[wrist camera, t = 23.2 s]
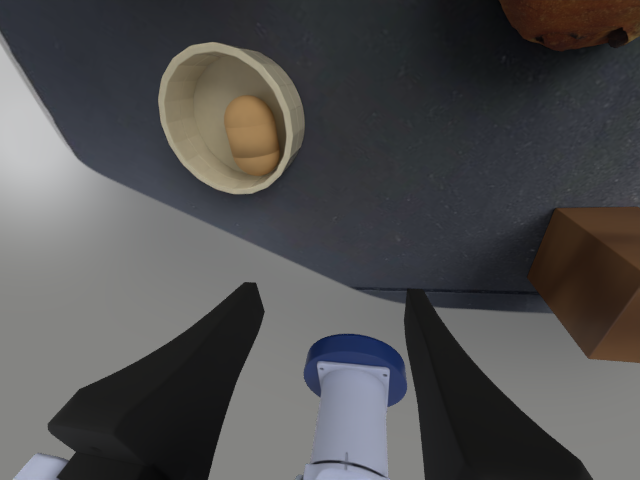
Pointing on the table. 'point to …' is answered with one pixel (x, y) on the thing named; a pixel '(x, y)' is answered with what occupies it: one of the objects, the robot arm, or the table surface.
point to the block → (593, 278)
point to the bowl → (209, 108)
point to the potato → (252, 135)
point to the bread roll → (574, 22)
